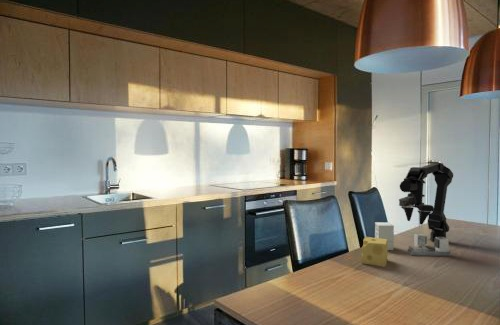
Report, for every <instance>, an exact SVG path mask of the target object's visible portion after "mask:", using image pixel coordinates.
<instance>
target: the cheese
mask: <svg viewBox="0 0 500 325" xmlns="http://www.w3.org/2000/svg"><path fill="white" fill-rule="evenodd" d="M362 241H363V243H362V244H363V245H362V247H361V257H360V262H361V264H363V265H364V264H365V265H370V266H378V267H383V268H385V267H386V265H387V263H388V262H387V261H388V253H389V252H388V251H389V250H388V239H381V238H375V237H370V236H364V238H363V240H362Z"/></svg>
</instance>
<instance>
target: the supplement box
mask: <svg viewBox="0 0 500 325" xmlns="http://www.w3.org/2000/svg"><path fill="white" fill-rule="evenodd" d="M394 228H395V226H394V225H393V224H392V223H391V222H387V221H385V222H378V221H376V222H374V238H381V239H388V251H394V249H395V248H394V240H395V238H394V232H395V230H394Z"/></svg>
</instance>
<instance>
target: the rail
mask: <svg viewBox="0 0 500 325" xmlns="http://www.w3.org/2000/svg"><path fill="white" fill-rule="evenodd" d="M433 243H434V244H433V246H434V248H428V247H427V246H426V245H425V246H422V247H421V248H414V247H413V246H411V245H408V248H407V254H409V255H410V256H425V257H426V256H435V257H437V256H438V257H439V256H440V257H451V251H449V238H447V237H446V238H445V237H435V238H434V242H433Z"/></svg>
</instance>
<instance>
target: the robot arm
mask: <svg viewBox="0 0 500 325" xmlns="http://www.w3.org/2000/svg"><path fill="white" fill-rule="evenodd" d="M429 174H432V175H433V177H434V182H435V184H436V190H435V197H434V205H431V204H425V202H423V198H425V196H426V195H425V194H423V193H424V192H423V191H424V184H426V181H425V179H426V178H427V177H428V175H429ZM453 178H454V173H453V171H452V169H450V168H449V167H447V166H446V165H444V163H442V162H432V163H430V164H427V165H424V166H421V167H420V166H419V167H418V166H416V167H415V166H414V167H410V169H409V170H408V172H407V174H406V176H405V178H403V181H401V182H400V184H399V190H400V191H401V192H403V193H407V196H405V197H402V198H399V199H398V201H399V204H398V206H399V207H400V208H401V209H402V210H403V211H404V213H405V217H406V220H407V221H408V222H410V221H411V218H412V216H413V211H414V210H415V208H416V209H417V212H418V214H419V225H421V226H422V225H423V224H424V222H425V221H426V219H427V226H428V230H431V231H430V238H429V240H430V241H432V242H433V243H434V238H435V237H445V238H447V233H449V231H450V226H449V224H448V223H447V217H446V215H445V206H446V198H447V191H448V186H449V185H450V184H452V182H453Z"/></svg>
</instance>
